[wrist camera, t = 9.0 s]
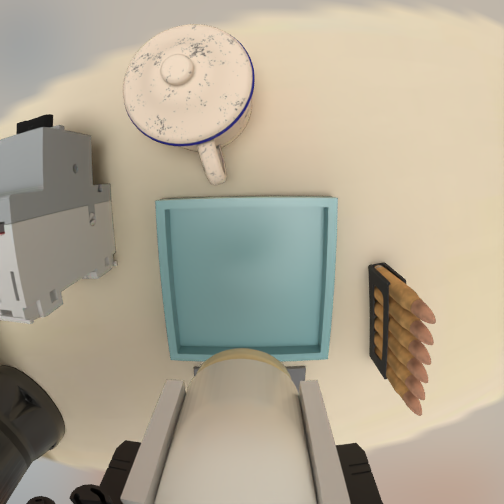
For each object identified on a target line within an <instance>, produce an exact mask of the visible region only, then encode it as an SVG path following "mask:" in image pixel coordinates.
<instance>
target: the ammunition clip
mask: <svg viewBox="0 0 504 504" xmlns="http://www.w3.org/2000/svg"><path fill="white" fill-rule="evenodd" d="M369 294H370V357H371V359H372V360H373V362H374V363H375V365H376V366H377V368H378V370H379V371H380V373H381V374H382V376H383V377H384V379H387V378H388V380H389V382H390V383H391V385H392V386H393V388H394V390H395V391H396V392H397V393H398V394H399V395H400V396H401V398H402V399H403V400H404V402H405V403H406V405H407V406H408V407H409V408H410V409H411V410H412V411H413V412H414V413H415V414H417V415H419V416H421V415H422V408H421V404H420V401H419V399H421V400H425V392H424V389H423V386H422V384H421V382H424V383H428V376H427V372H426V370H425V368H424V366H423V364H422V363H424V364H427V365H430V364H431V359H430V356H429V353H428V351H427V349H426V348H425V346H424V345H423V344H422V343H421V342H423V343H425V344H428V345H433V343H434V342H433V337H432V335H431V333H430V331H429V330H428V328H427V327H426V326H425V325H424V324H423V323H422V321H424V322H427V323H430V324H434V323H435V322H436V319H435V316H434V314H433V312H432V311H431V309H430V308H429V307H428V306H427V305H426V304H425V303H424V302H423V301H422V300H421V299H420V298H419V296H418V295H417V293H416V292H415V291H414V290H413V289H411V288H410V287H409V286H407V285H406V280H405V279H404V278H403V277H402V276H400V275H399V274H398V273H397V272H396V271H394V270H393V269H392V268H391V267H390V266H388V265H387V264H386V263H380V264H374V265H369ZM420 319H421V320H422V321H421V320H420ZM421 362H422V363H421ZM420 381H421V382H420ZM418 398H419V399H418Z"/></svg>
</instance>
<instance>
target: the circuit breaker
mask: <svg viewBox="0 0 504 504" xmlns="http://www.w3.org/2000/svg"><path fill="white" fill-rule="evenodd" d="M115 252H116V247H115V238H114V228H113V217H112V204H111V189H110V184H101V185H93V178H92V148H91V136H90V135H85V134H80V133H75V132H70V131H65V130H64V126H61V125H58V126H54V127H53V115H51V114H49V115H43V116H40V117H38V118H35V119H32V120H29V121H23V122H20V123H17V135H14V136H11V137H8V138H4V139H1V140H0V320H4V321H11V322H19V323H27V324H32V323H34V320H35V319H37V318H39V317H46V316H48V315H49V314H50V313H52V312H53V311H54V310H56V309H57V308H58V307H60V306H61V305H62V304H63V300H62V295H61V291H63V290H64V289H66V288H67V287H69V286H70V285H72V284H74V283H75V282H77V281H78V280H80V279H81V278H91V279H98V278H100V277H101V276H102V275H104V274H105V273H107V272H108V271H110V270H111V267H112V266H117V265H118V264H117V261H114V258H113V254H114V253H115Z"/></svg>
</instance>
